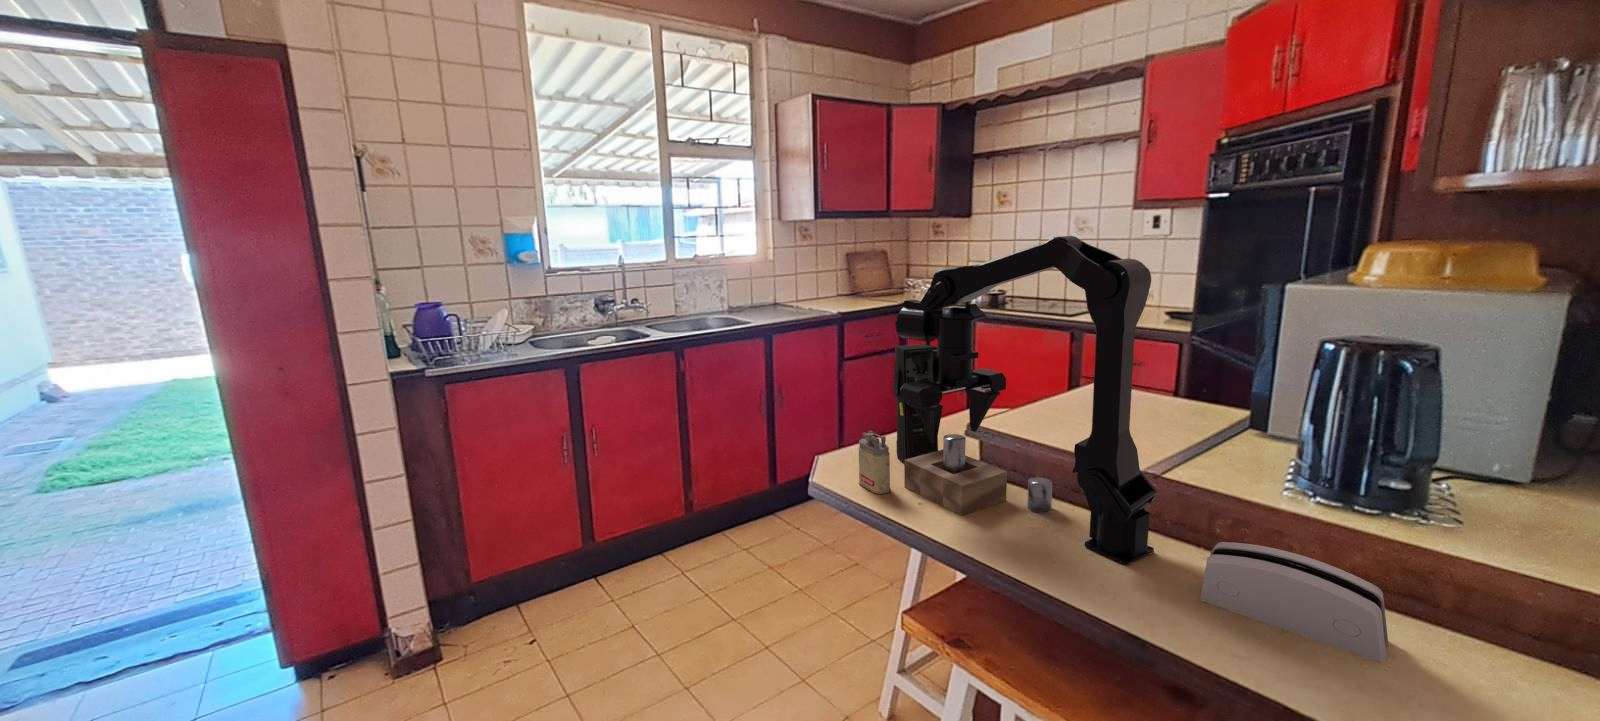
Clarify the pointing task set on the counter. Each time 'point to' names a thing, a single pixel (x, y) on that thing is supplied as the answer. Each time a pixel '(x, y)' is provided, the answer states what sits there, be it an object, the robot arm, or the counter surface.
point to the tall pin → (954, 453)
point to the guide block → (955, 482)
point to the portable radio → (908, 419)
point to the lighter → (874, 463)
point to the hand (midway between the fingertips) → (953, 436)
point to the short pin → (1039, 495)
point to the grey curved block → (1298, 596)
